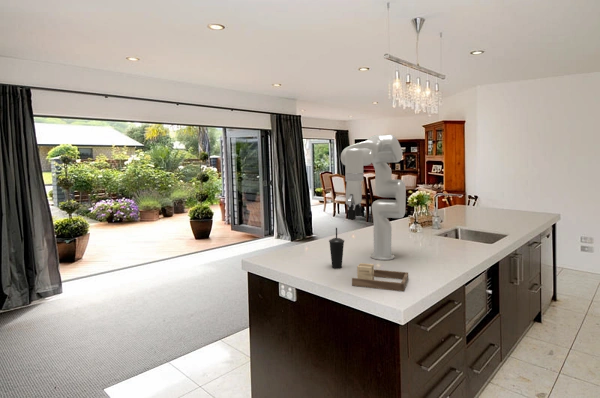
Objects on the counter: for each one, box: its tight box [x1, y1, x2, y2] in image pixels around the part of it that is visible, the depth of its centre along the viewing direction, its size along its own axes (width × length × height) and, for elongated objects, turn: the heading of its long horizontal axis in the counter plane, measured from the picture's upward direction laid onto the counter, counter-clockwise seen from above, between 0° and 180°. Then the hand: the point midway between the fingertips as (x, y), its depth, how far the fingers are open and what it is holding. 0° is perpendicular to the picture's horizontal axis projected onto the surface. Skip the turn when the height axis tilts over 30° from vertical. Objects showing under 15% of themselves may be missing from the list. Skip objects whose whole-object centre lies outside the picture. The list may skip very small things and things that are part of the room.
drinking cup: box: [328, 227, 345, 270], centre depth 180 cm, size 8×8×20 cm
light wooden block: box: [356, 262, 375, 280], centre depth 159 cm, size 6×6×7 cm
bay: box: [351, 268, 409, 292], centre depth 156 cm, size 16×21×3 cm
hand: (354, 217), depth 155 cm, fingers open, 9 cm apart
